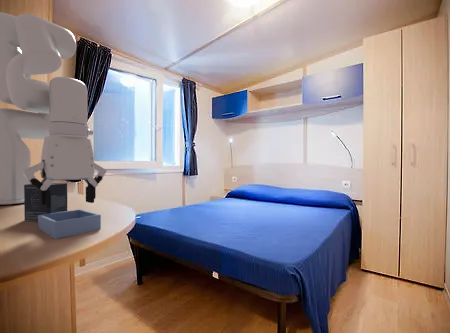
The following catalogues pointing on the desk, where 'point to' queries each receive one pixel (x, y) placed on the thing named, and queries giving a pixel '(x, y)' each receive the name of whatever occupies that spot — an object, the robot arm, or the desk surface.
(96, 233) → the desk surface
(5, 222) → the desk surface
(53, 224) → the tray
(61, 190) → the box
